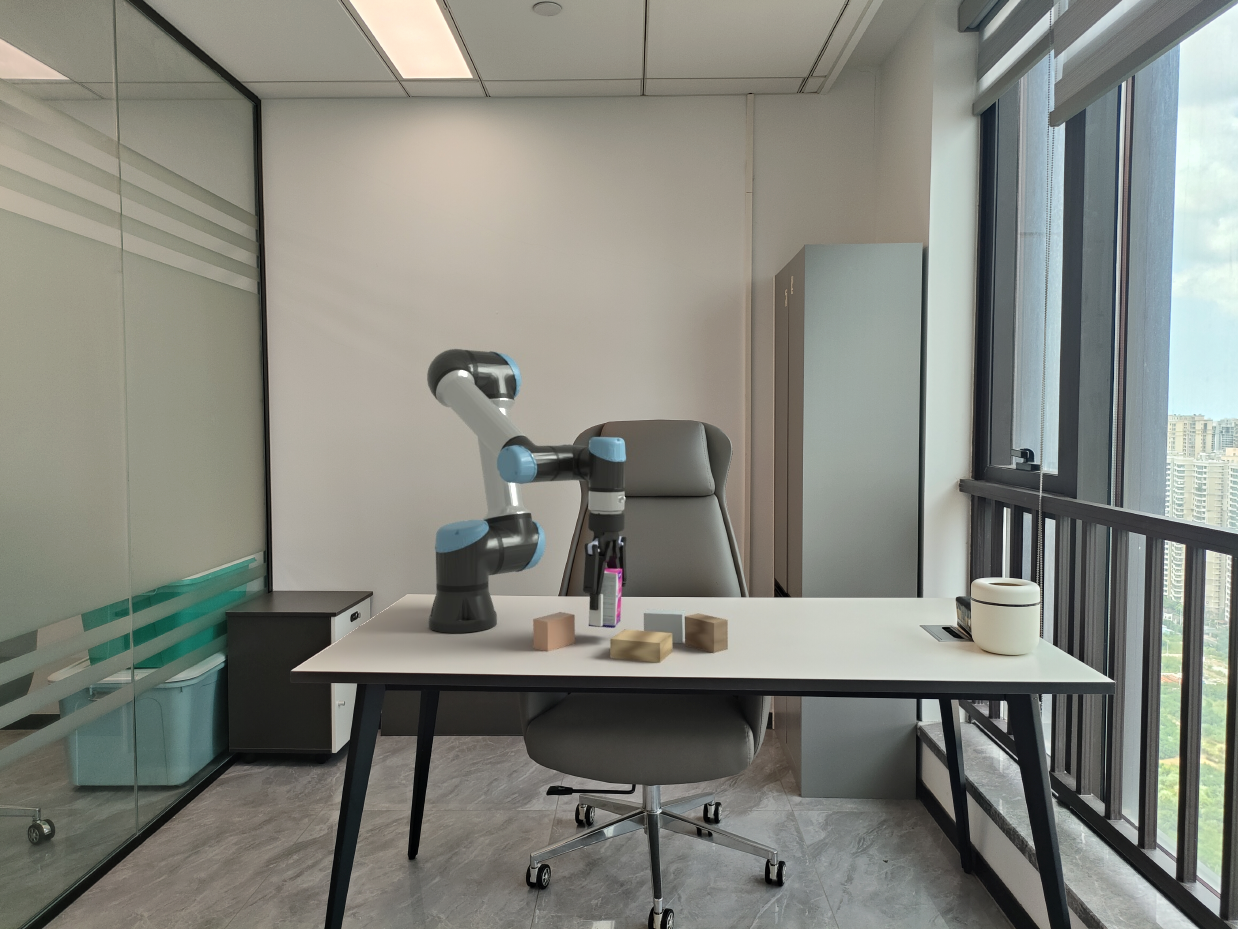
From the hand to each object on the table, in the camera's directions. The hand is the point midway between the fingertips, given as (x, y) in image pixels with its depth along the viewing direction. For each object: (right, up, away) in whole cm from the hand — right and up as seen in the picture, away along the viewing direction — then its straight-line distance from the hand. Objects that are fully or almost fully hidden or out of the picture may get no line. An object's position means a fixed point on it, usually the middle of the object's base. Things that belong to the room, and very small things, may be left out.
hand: (605, 621), depth 163 cm
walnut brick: (+20, -4, -6) cm, 22 cm away
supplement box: (0, -1, 0) cm, 1 cm away
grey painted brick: (+12, -4, 0) cm, 13 cm away
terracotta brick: (-10, -4, -4) cm, 12 cm away
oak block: (+7, -5, -11) cm, 14 cm away
